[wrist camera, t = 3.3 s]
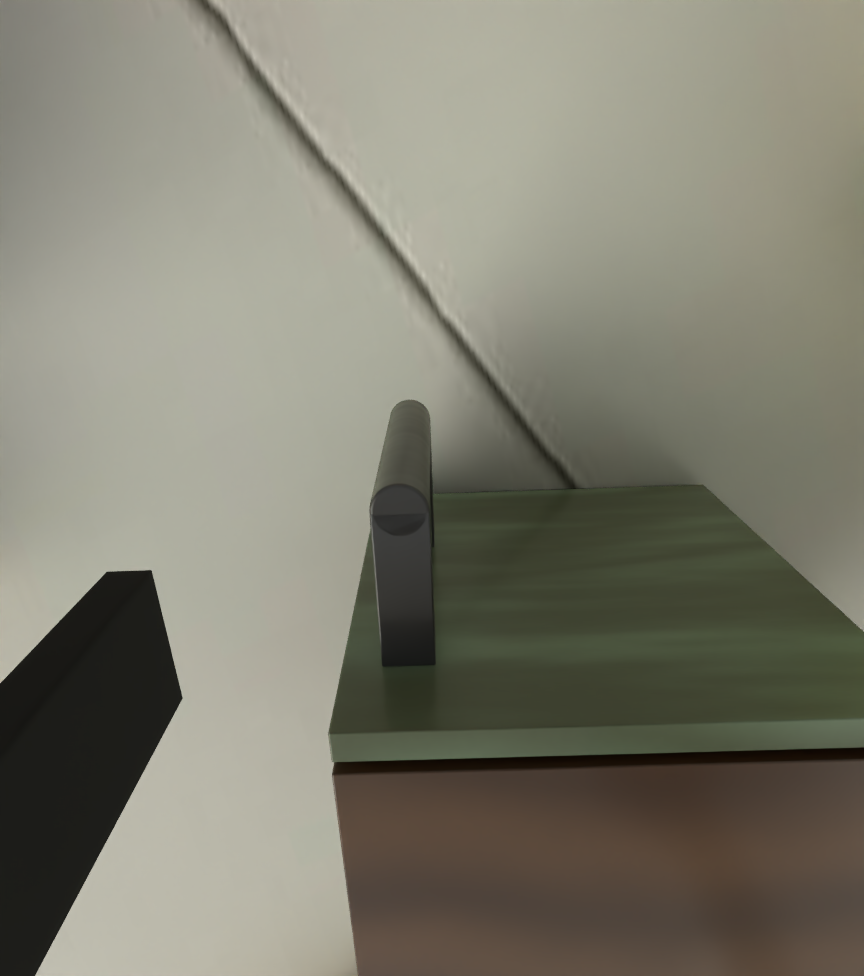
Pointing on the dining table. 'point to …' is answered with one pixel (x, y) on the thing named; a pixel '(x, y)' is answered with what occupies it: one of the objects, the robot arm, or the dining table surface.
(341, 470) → the dining table surface
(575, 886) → the cupboard
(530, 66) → the dining table surface
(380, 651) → the door
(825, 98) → the dining table surface
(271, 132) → the dining table surface
